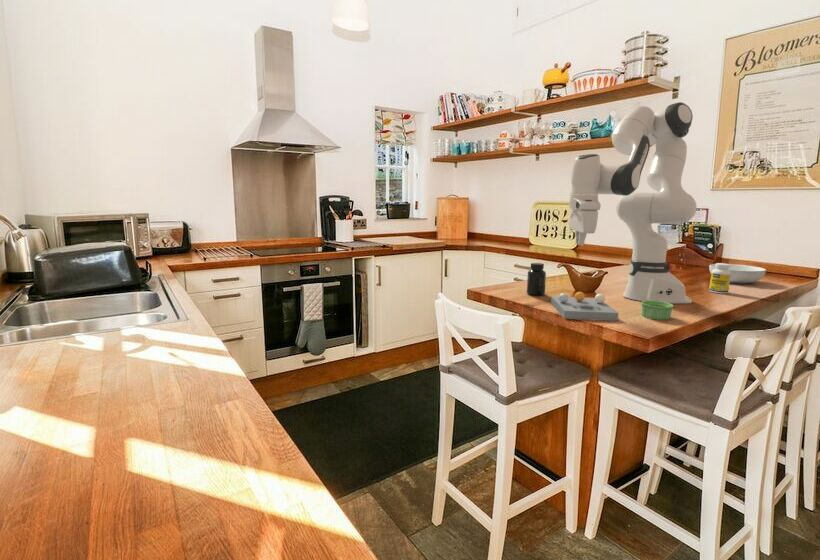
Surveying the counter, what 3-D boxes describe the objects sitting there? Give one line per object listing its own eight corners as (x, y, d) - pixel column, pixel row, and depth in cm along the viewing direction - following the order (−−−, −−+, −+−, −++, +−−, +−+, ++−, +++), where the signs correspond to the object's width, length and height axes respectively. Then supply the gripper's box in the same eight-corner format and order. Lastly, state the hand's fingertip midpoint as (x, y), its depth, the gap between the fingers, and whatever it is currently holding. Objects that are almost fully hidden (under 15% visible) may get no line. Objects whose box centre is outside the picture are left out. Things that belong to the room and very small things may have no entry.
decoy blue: (566, 301, 150) (567, 292, 149) (569, 303, 146) (570, 294, 146) (557, 301, 150) (557, 292, 149) (559, 303, 147) (560, 294, 146)
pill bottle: (705, 291, 181) (709, 263, 179) (714, 290, 184) (718, 262, 182) (722, 294, 175) (726, 265, 173) (731, 293, 178) (736, 264, 176)
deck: (550, 303, 158) (551, 296, 157) (597, 304, 156) (598, 298, 155) (564, 318, 138) (564, 310, 138) (617, 320, 136) (618, 312, 136)
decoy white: (602, 302, 149) (603, 293, 149) (606, 304, 146) (606, 295, 146) (593, 301, 150) (593, 292, 149) (595, 304, 146) (596, 294, 146)
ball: (582, 300, 152) (583, 291, 151) (585, 302, 149) (586, 293, 148) (573, 299, 152) (574, 290, 152) (575, 302, 149) (576, 292, 148)
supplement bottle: (542, 292, 175) (545, 262, 172) (546, 296, 168) (548, 265, 166) (525, 292, 175) (527, 262, 173) (527, 295, 169) (529, 264, 166)
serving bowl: (712, 276, 217) (714, 262, 216) (766, 282, 203) (769, 267, 202) (702, 281, 203) (704, 266, 202) (759, 288, 188) (762, 272, 187)
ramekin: (665, 314, 146) (666, 301, 145) (676, 321, 137) (678, 307, 136) (635, 312, 147) (637, 299, 146) (645, 320, 138) (646, 306, 137)
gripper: (566, 202, 160) (563, 241, 163) (581, 204, 140) (578, 247, 143) (584, 203, 159) (580, 241, 162) (602, 204, 139) (598, 248, 142)
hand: (579, 244), depth 152 cm, fingers closed
